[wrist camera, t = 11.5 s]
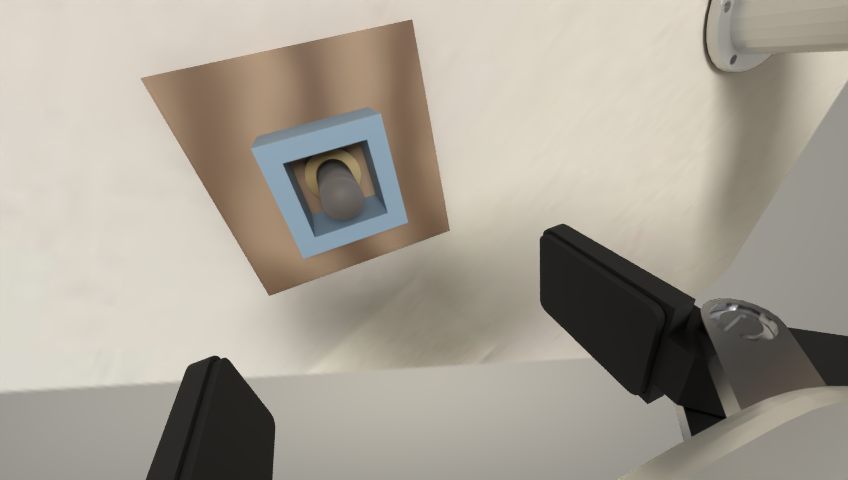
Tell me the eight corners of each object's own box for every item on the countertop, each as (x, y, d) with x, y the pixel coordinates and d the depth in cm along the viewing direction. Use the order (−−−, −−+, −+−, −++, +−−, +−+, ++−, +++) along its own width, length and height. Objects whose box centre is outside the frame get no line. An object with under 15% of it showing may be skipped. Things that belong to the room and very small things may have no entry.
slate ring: (367, 107, 22) (380, 113, 19) (393, 203, 26) (408, 222, 23) (257, 136, 21) (250, 148, 17) (302, 233, 25) (303, 258, 21)
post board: (405, 22, 22) (449, 3, 16) (443, 223, 30) (481, 263, 24) (150, 77, 19) (79, 81, 13) (270, 285, 27) (263, 349, 21)
